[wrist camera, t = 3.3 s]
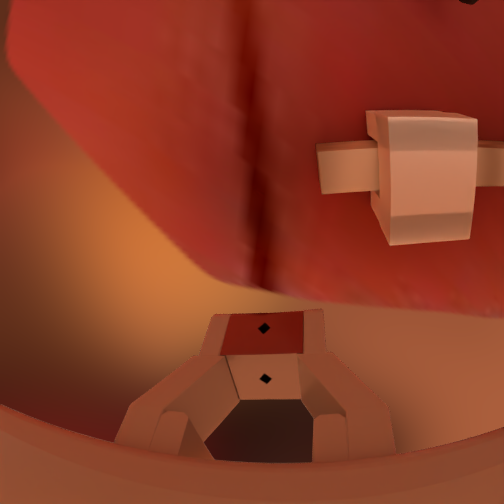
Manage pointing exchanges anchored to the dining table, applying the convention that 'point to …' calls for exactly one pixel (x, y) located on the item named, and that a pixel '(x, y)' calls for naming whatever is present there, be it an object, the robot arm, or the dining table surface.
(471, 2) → the coffee mug
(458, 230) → the keeper
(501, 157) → the rail
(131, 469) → the robot arm
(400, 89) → the dining table surface
